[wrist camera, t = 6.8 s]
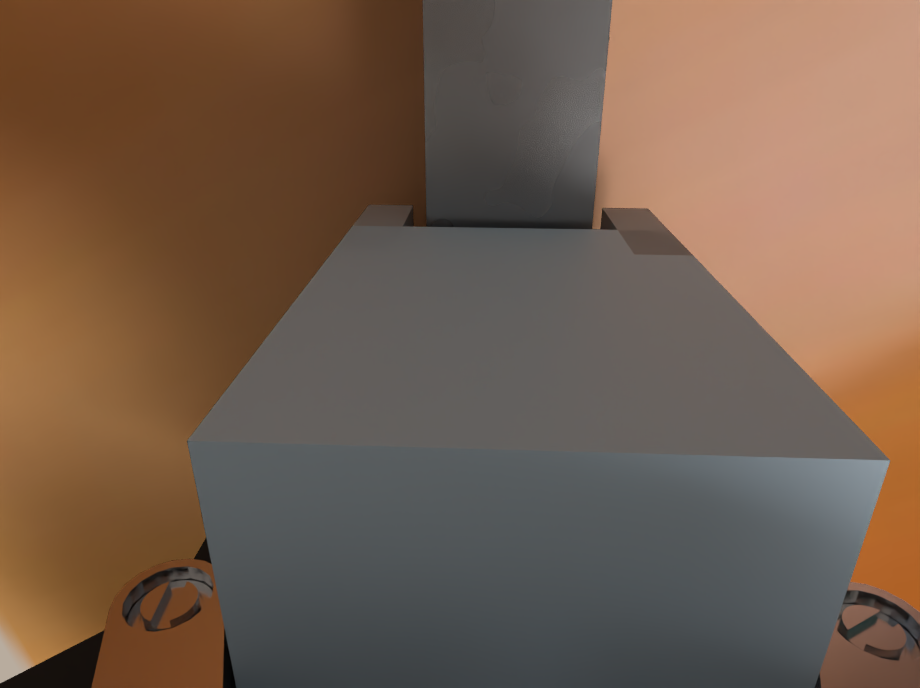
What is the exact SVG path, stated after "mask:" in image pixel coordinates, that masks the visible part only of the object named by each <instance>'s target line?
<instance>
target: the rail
mask: <svg viewBox="0 0 920 688" xmlns="http://www.w3.org/2000/svg"><path fill="white" fill-rule="evenodd" d="M611 9H612V0H423V46H424V104H425V162H426V220H427V227H469V228H534V229H592V221H593V210H594V199H595V188H596V177H597V165H598V154H599V143H600V132H601V121H602V110H603V99H604V87H605V76H606V65H607V54H608V43H609V32H610V21H611Z"/></svg>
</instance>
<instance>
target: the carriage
mask: <svg viewBox="0 0 920 688" xmlns="http://www.w3.org/2000/svg"><path fill="white" fill-rule="evenodd" d="M187 443H188V448H189V453H190V458H191V463H192V468H193V473H194V478H195V483H196V488H197V493H198V498H199V503H200V508H201V513H202V518H203V523H204V528H205V533H206V538H207V543H208V548H209V553H210V558H211V563H212V568H213V573H214V578H215V583H216V588H217V593H218V598H219V603H220V608H221V613H222V618H223V623H224V628H225V633H226V638H227V643H228V648H229V653H230V658H231V663H232V668H233V673H234V678H235V683H236V688H815V685H816V682H817V679H818V676H819V673H820V670H821V667H822V664H823V661H824V658H825V655H826V652H827V649H828V646H829V643H830V640H831V637H832V634H833V631H834V628H835V625H836V622H837V619H838V616H839V613H840V610H841V607H842V604H843V601H844V598H845V595H846V592H847V589H848V586H849V583H850V580H851V577H852V574H853V571H854V568H855V565H856V562H857V559H858V556H859V553H860V550H861V547H862V544H863V541H864V538H865V535H866V532H867V529H868V526H869V523H870V520H871V517H872V514H873V511H874V508H875V505H876V502H877V499H878V496H879V493H880V490H881V487H882V484H883V481H884V478H885V475H886V472H887V469H888V466H889V463H890V460H889V459H888V458H887V457H886V456H885V455H884V454H883V452H882V451H881V450H880V449H879V448H878V447H877V446H876V445H875V444H874V443H873V442H872V441H871V440H870V439H869V438H868V437H867V436H866V435H865V434H864V433H863V432H862V431H861V430H860V429H859V428H858V426H857V425H856V424H855V423H854V422H853V421H852V420H851V419H850V418H849V417H848V416H847V415H846V414H845V413H844V412H843V411H842V410H841V409H840V408H839V407H838V406H837V405H836V404H835V403H834V402H833V400H832V399H831V398H830V397H829V396H828V395H827V394H826V393H825V392H824V391H823V390H822V389H821V388H820V387H819V386H818V385H817V384H816V383H815V382H814V381H813V380H812V379H811V378H810V377H809V376H808V375H807V373H806V372H805V371H804V370H803V369H802V368H801V367H800V366H799V365H798V364H797V363H796V362H795V361H794V360H793V359H792V358H791V357H790V356H789V355H788V354H787V353H786V352H785V351H784V350H783V349H782V347H781V346H780V345H779V344H778V343H777V342H776V341H775V340H774V339H773V338H772V337H771V336H770V335H769V334H768V333H767V332H766V331H765V330H764V329H763V328H762V327H761V326H760V325H759V324H758V323H757V321H756V320H755V319H754V318H753V317H752V316H751V315H750V314H749V313H748V312H747V311H746V310H745V309H744V308H743V307H742V306H741V305H740V304H739V303H738V302H737V301H736V300H735V299H734V298H733V297H732V296H731V294H730V293H729V292H728V291H727V290H726V289H725V288H724V287H723V286H722V285H721V284H720V283H719V282H718V281H717V280H716V279H715V278H714V277H713V276H712V275H711V274H710V273H709V272H708V271H707V270H706V268H705V267H704V266H703V265H702V264H701V263H700V262H699V261H698V260H697V259H696V258H695V257H694V256H693V255H692V254H691V253H690V252H689V251H688V250H687V249H686V248H685V247H684V246H683V245H682V244H681V242H680V241H679V240H678V239H677V238H676V237H675V236H674V235H673V234H672V233H671V232H670V231H669V230H668V229H667V228H666V227H665V226H664V225H663V224H662V223H661V222H660V221H659V220H658V219H657V218H656V217H655V215H654V214H653V213H652V212H651V211H650V210H649V209H640V208H602V218H601V228H600V229H534V228H469V227H414V223H413V205H368V206H367V208H366V209H365V210H364V212H363V213H362V214H361V215H360V217H359V218H358V219H357V221H356V222H355V223H354V225H353V226H352V227H351V228H350V230H349V231H348V232H347V234H346V235H345V236H344V238H343V239H342V240H341V241H340V243H339V244H338V245H337V247H336V248H335V249H334V251H333V252H332V253H331V254H330V256H329V257H328V258H327V260H326V261H325V262H324V264H323V265H322V266H321V267H320V269H319V270H318V271H317V273H316V274H315V275H314V277H313V278H312V279H311V280H310V282H309V283H308V284H307V286H306V287H305V288H304V290H303V291H302V292H301V293H300V295H299V296H298V297H297V299H296V300H295V301H294V303H293V304H292V305H291V306H290V308H289V309H288V310H287V312H286V313H285V314H284V316H283V317H282V318H281V319H280V321H279V322H278V323H277V325H276V326H275V327H274V329H273V330H272V331H271V332H270V334H269V335H268V336H267V338H266V339H265V340H264V341H263V343H262V344H261V345H260V347H259V348H258V349H257V351H256V352H255V353H254V354H253V356H252V357H251V358H250V360H249V361H248V362H247V364H246V365H245V366H244V367H243V369H242V370H241V371H240V373H239V374H238V375H237V377H236V378H235V379H234V380H233V382H232V383H231V384H230V386H229V387H228V388H227V390H226V391H225V392H224V393H223V395H222V396H221V397H220V399H219V400H218V401H217V403H216V404H215V405H214V406H213V408H212V409H211V410H210V412H209V413H208V414H207V416H206V417H205V418H204V419H203V421H202V422H201V423H200V425H199V426H198V427H197V429H196V430H195V431H194V432H193V434H192V435H191V436H190V438H189V439H188V440H187Z"/></svg>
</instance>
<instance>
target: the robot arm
mask: <svg viewBox="0 0 920 688" xmlns="http://www.w3.org/2000/svg"><path fill="white" fill-rule="evenodd" d="M0 688H236V683H235V678H234V673H233V668H232V663H231V658H230V653H229V648H228V643H227V638H226V633H225V628H224V623H223V618H222V613H221V608H220V603H219V598H218V593H217V588H216V583H215V578H214V573H213V568H212V563H211V558H210V553H209V548H208V543H207V538H206V539H205V541H204V542H203V544H202V546H201V548H200V549H199V551H198V553H197V554H196V556H195V558H194V559H181V560H172V561H169V562H165V563H162V564H158V565H156V566H154V567H152V568H149V569H147V570H145V571H143V572H141V573H140V574H138V575H137V576H136V577H134V578H133V579H132V580H130V581H129V582H128V583H126V584H125V585H124V587H123V588H122V589H121V590H120V591H119V592H118V594H117V595H116V596H115V598H114V600H113V602H112V605H111V607H110V609H109V613H108V618H107V622H106V626H105V630H104V631H102V632H100V633H98V634H96V635H94V636H92V637H91V638H89V639H87V640H85V641H83V642H81V643H79V644H77V645H75V646H73V647H71V648H69V649H67V650H65V651H63V652H61V653H59V654H57V655H55V656H53V657H51V658H49V659H47V660H46V661H44V662H42V663H40V664H38V665H36V666H34V667H32V668H30V669H28V670H26V671H24V672H22V673H20V674H18V675H16V676H14V677H12V678H11V679H8V680H6V681H5V682H2V683H1V684H0ZM815 688H920V612H919V611H917V610H916V609H915V608H913V607H912V606H911V605H909V604H908V603H907V602H905V601H904V600H902V599H900V598H898V597H896V596H894V595H892V594H890V593H888V592H887V591H884V590H881V589H878V588H875V587H873V586H870V585H867V584H861V583H854V582H850V583H849V586H848V589H847V592H846V595H845V598H844V601H843V604H842V607H841V610H840V613H839V616H838V619H837V622H836V625H835V628H834V631H833V634H832V637H831V640H830V643H829V646H828V649H827V652H826V655H825V658H824V661H823V664H822V667H821V670H820V673H819V676H818V679H817V682H816V685H815Z"/></svg>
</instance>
